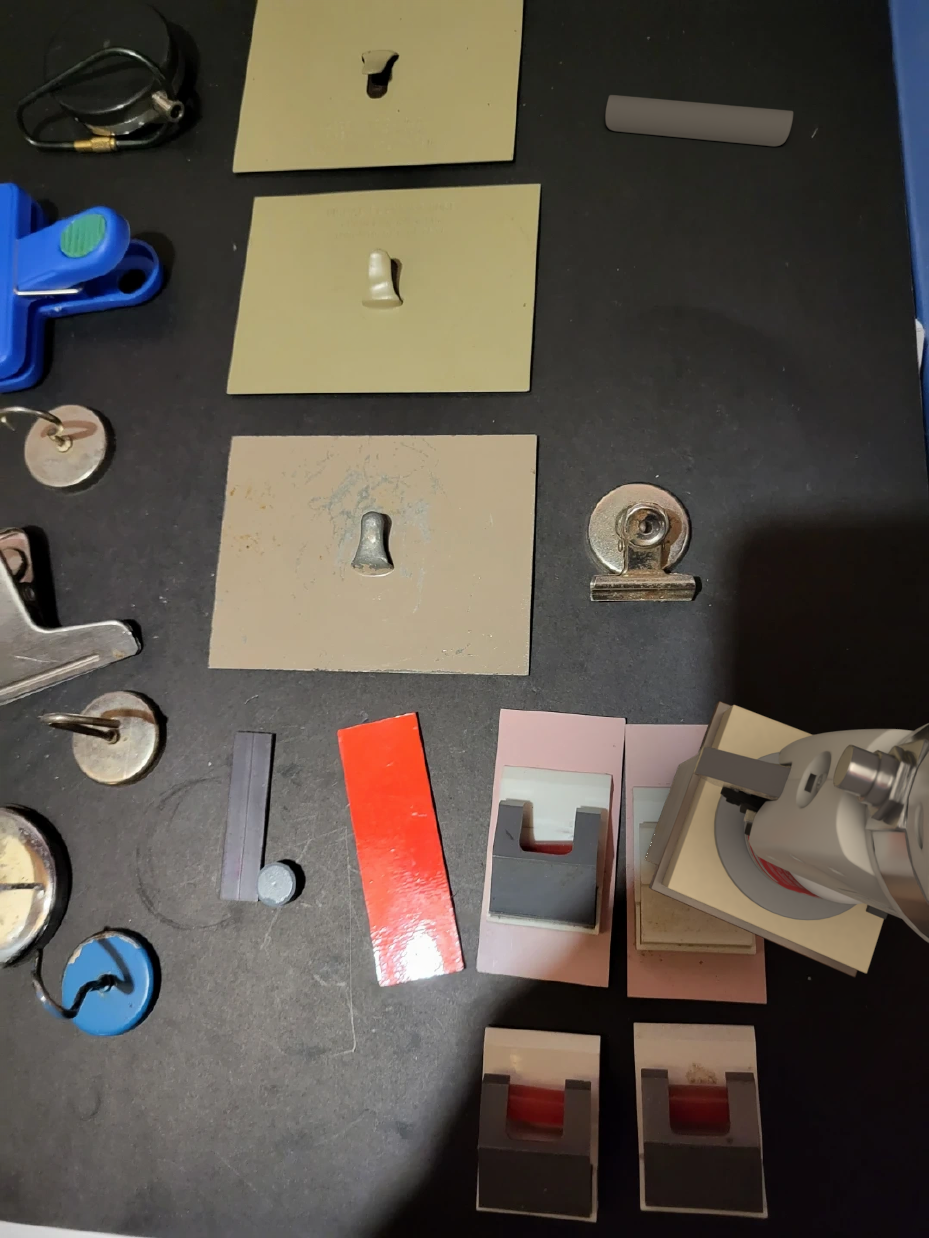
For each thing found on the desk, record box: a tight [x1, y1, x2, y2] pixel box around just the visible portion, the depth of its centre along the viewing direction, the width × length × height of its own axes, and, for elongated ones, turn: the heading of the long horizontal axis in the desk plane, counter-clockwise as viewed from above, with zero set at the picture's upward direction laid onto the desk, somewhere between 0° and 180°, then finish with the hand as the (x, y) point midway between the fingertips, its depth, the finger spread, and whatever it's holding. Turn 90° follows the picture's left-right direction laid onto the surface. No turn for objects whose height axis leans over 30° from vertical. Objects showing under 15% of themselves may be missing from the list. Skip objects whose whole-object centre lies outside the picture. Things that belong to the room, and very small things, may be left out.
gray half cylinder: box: [604, 94, 794, 147], centre depth 93 cm, size 4×20×2 cm, turn 78°
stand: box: [644, 700, 858, 978], centre depth 64 cm, size 12×12×27 cm
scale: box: [662, 704, 889, 974], centre depth 49 cm, size 11×11×4 cm
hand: (833, 834), depth 41 cm, fingers open, 6 cm apart
